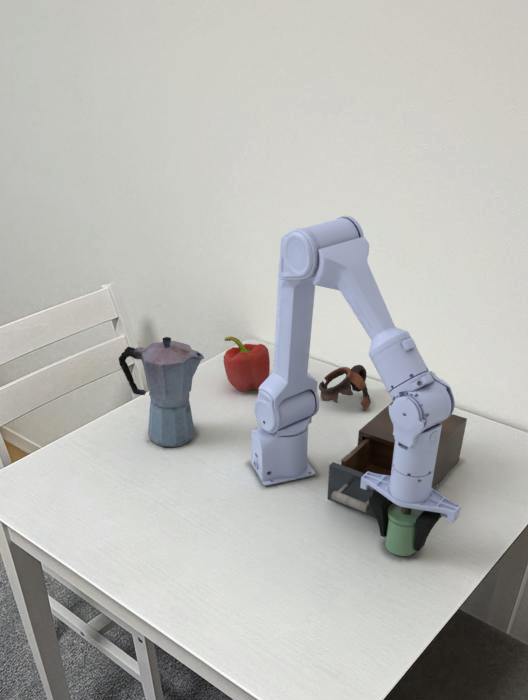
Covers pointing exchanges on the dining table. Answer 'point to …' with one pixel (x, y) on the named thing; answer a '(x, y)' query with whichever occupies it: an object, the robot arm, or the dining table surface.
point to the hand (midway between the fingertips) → (402, 540)
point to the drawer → (358, 474)
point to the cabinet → (447, 448)
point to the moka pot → (166, 388)
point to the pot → (401, 530)
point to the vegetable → (246, 365)
